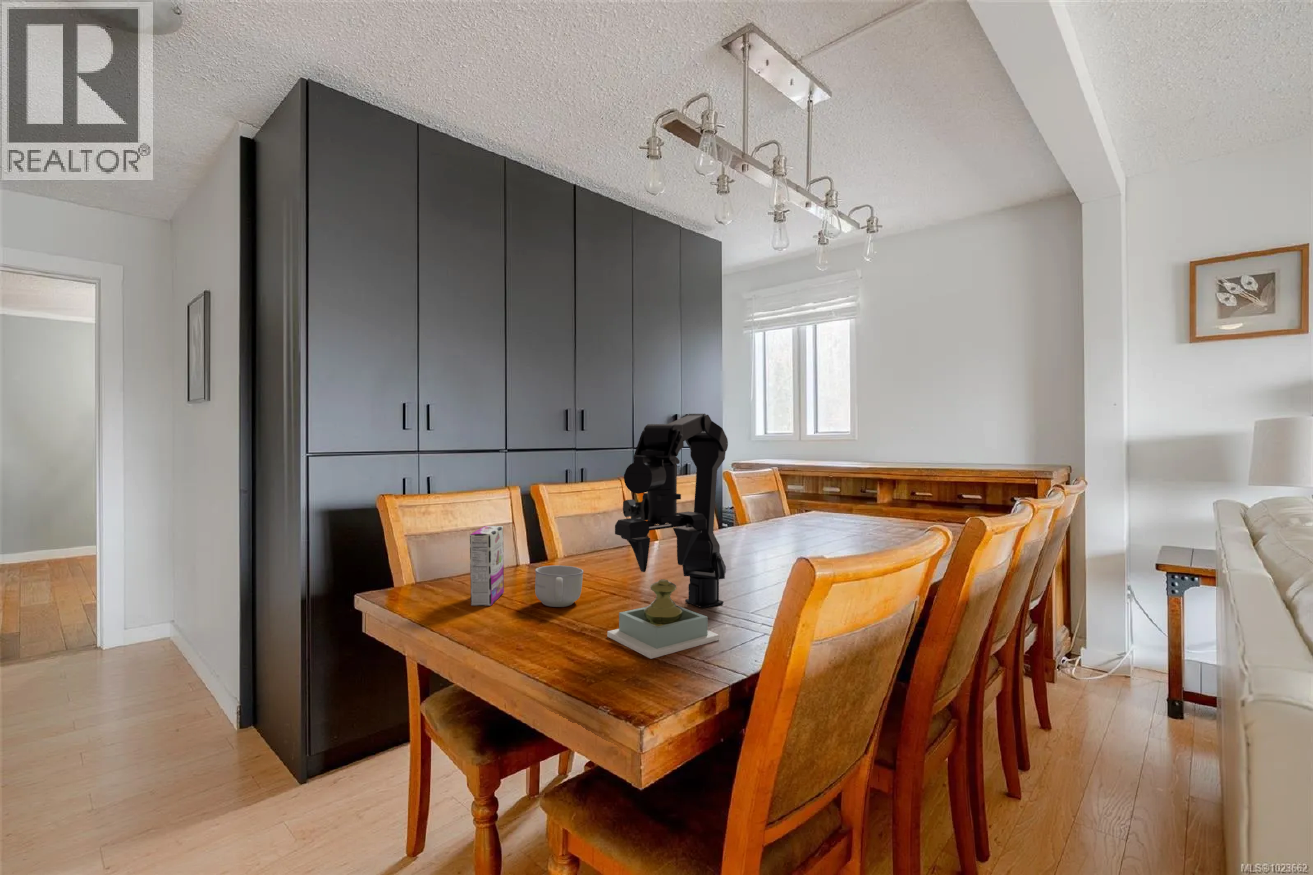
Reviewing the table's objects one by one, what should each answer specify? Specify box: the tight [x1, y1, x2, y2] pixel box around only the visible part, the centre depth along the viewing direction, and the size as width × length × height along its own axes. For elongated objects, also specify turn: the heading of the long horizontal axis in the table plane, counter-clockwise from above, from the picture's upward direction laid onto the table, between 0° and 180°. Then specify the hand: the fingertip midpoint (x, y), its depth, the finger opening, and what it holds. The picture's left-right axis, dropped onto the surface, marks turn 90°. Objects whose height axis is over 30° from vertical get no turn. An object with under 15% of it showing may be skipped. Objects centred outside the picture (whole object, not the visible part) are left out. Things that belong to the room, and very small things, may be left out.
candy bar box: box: [469, 525, 505, 607], centre depth 140 cm, size 11×5×16 cm, turn 179°
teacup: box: [534, 564, 584, 608], centre depth 135 cm, size 14×11×8 cm
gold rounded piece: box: [644, 579, 683, 626], centre depth 114 cm, size 7×7×10 cm
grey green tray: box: [607, 605, 720, 659], centre depth 114 cm, size 16×14×4 cm
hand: (662, 568), depth 117 cm, fingers open, 9 cm apart
